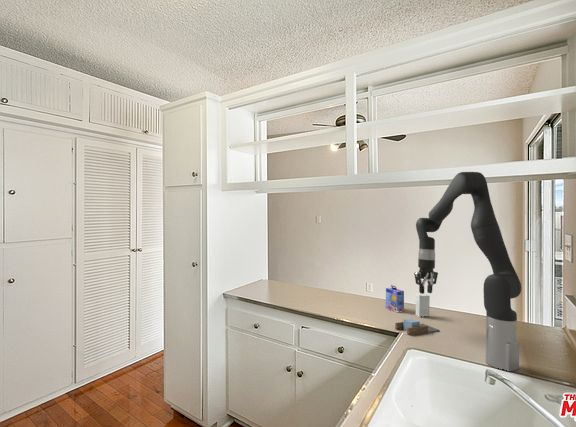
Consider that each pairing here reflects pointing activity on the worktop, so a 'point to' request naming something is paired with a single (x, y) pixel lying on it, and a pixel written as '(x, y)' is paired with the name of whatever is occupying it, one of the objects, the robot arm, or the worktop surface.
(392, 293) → the ink cartridge box
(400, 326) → the channel
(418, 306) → the skincare box
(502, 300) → the robot arm
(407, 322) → the block
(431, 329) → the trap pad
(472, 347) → the worktop surface
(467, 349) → the worktop surface
